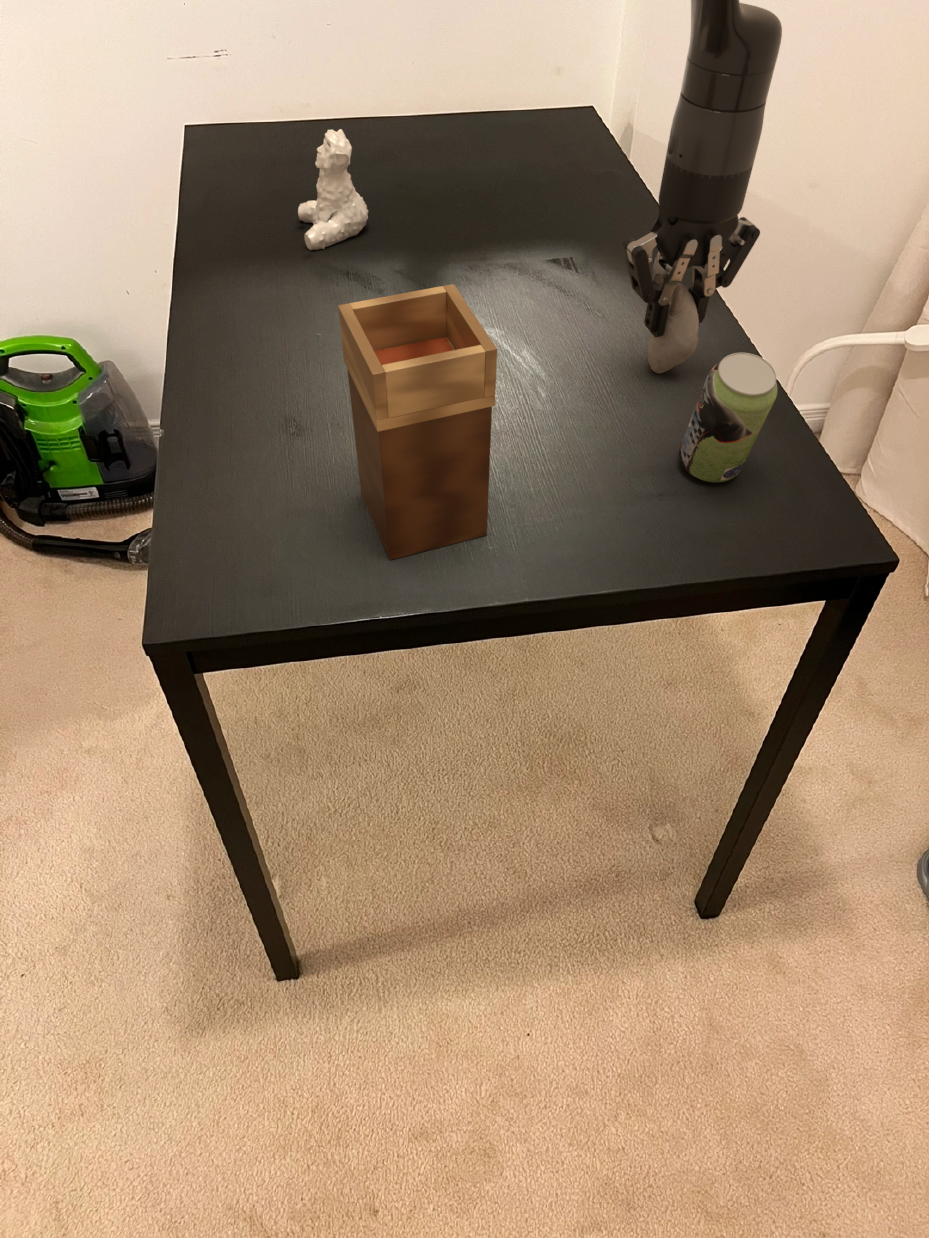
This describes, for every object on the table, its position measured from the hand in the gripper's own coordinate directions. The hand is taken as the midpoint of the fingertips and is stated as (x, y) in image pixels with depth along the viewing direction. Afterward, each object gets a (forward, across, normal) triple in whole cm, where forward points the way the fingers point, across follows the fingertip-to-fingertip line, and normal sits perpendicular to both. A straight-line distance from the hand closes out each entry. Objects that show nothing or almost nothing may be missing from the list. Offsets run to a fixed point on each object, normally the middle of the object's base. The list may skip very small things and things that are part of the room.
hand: (672, 328), depth 89 cm
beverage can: (+5, -3, -16) cm, 17 cm away
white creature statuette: (+5, -25, +41) cm, 48 cm away
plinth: (+5, -31, -12) cm, 34 cm away
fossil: (+5, 0, 0) cm, 5 cm away
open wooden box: (-9, -31, -12) cm, 34 cm away
